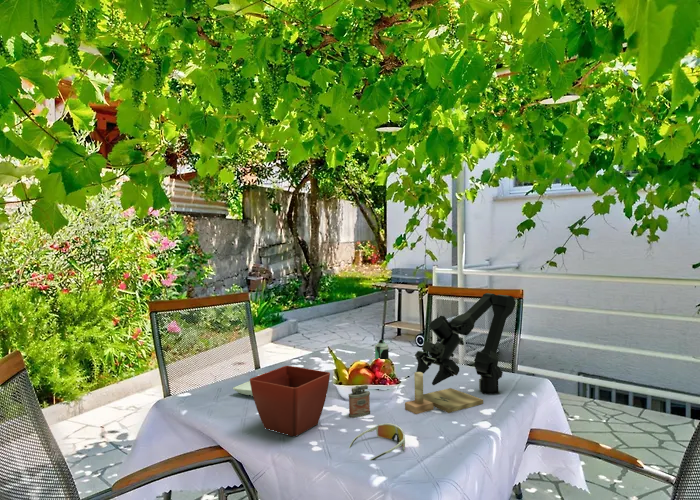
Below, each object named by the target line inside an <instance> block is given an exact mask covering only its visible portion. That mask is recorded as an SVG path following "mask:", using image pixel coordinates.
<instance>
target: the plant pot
mask: <svg viewBox="0 0 700 500" xmlns="http://www.w3.org/2000/svg"><path fill="white" fill-rule="evenodd" d="M330 376H331V372H329V371H324V370H318V369H310V368H305V367H299V366H294V365H293V366H292V365H284V366H282V367H279V368H275V369H273V370H271V371H268V372H265V373H261V374H259V375H257V376H254V377H251V378H250V379H249V381H250V385H251V390H252V394H253V397H252V398H253V400H254V404H255V407H256V410H257V413H258V415H259V418H260V421H261V423H262V425H263V427H264V429H265V428H266V429H270V430H274V431H277V432H280V433H279V434H281V433H284V434H283V435H285V434H288V435H287V436H289V435H290V436H289V437H293V436H295V437H297V435H298V436H300V435H301V434H303V433H305V432H306V431H308V430H310V429H311V428H313V427H315V426H317V425H318V424H319V421H320V420H321V419H320V418H321V415H322V412H323V411H324V410H323V409H324V406H325V403H326V399H327V394H328V389H329V383H330V378H331V377H330ZM266 429H265V430H266ZM270 430H269V431H270ZM277 432H276V433H277Z"/></svg>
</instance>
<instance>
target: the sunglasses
mask: <svg viewBox="0 0 700 500" xmlns="http://www.w3.org/2000/svg"><path fill="white" fill-rule="evenodd" d="M374 431H375V432H376V437H377V438H380V439H389V440H391V441H394V440H395V439H396V442H397V443H398V444H396V445H394V446H393V447H392V448H390V449H388V450H385V451H384V452H382V453H380V454H378V455H376V456H374V457H372V458H370V459H369V461H375V460H377V459H378V458H381V457H382V456H384V455H387V454H390V453H392V452H393V451H394V450H395V449H398V448H399V447H402V446H403V447H402V451H404V450H405V448H406V436H405V435H406V434H405V431H404V430H403V429H402V428H401V427H400V426H399V425H397V424H395V423H389V422H384V423H380V424H377V425H375V426H373V427H371V428H369V429H367V430H364V431H363V432H361V433H360V434H358V435H357V436H355V437H354V439H353V440H352V441H351V442H350V444H349V446H348V449H351V448H352V445H354V442H356V441H357V440H358V439H359V438H361V437H362V436H363V435H364V434H367V433H371V432H374Z"/></svg>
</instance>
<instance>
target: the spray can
mask: <svg viewBox="0 0 700 500" xmlns="http://www.w3.org/2000/svg"><path fill="white" fill-rule="evenodd" d="M378 358H380V359H388V360H389V359H390V357H389V344H387V343H386V342H385V340H384V339H382V338H381V339H379V341H378V342H377V344H375V346H374V361H375V360H376V359H378Z"/></svg>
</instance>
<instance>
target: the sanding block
mask: <svg viewBox="0 0 700 500" xmlns="http://www.w3.org/2000/svg"><path fill="white" fill-rule="evenodd" d="M413 376H414V400H410V401H409V400H408V401H406V402H404V410H405V411H408V412H410V413H411V414H414V415H419V414H423V413H425V412H426V413H427V412H430V411H434V407H433V402H430V401H428V400H425V399H423V394H424V374H423V373H422V372H416V371H415V372H414V375H413Z"/></svg>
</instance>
